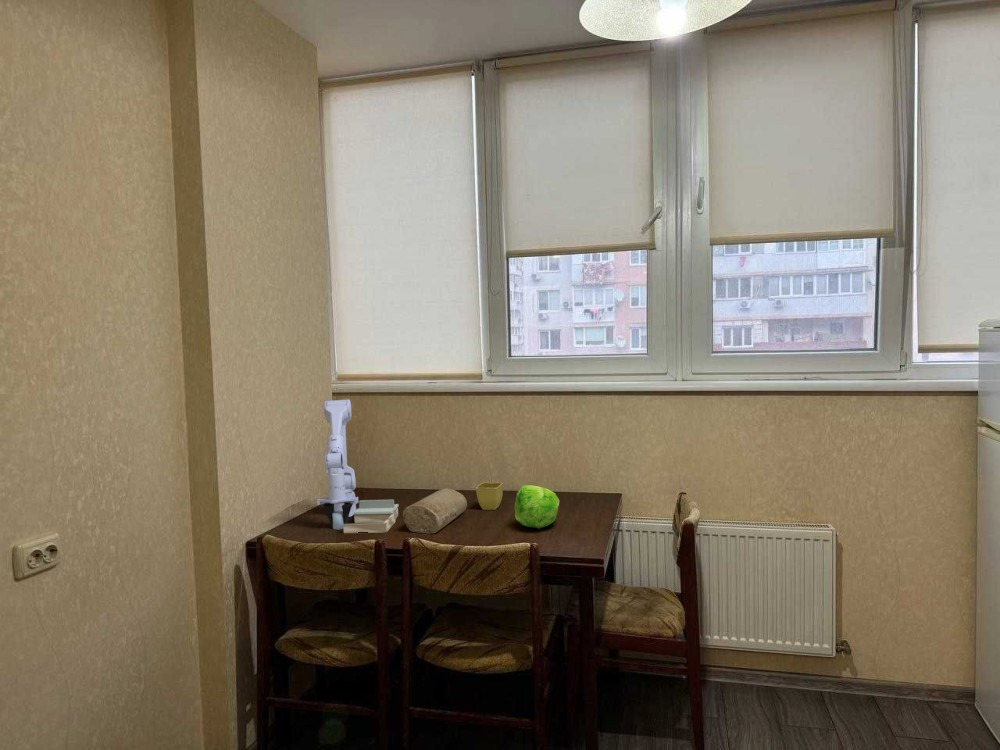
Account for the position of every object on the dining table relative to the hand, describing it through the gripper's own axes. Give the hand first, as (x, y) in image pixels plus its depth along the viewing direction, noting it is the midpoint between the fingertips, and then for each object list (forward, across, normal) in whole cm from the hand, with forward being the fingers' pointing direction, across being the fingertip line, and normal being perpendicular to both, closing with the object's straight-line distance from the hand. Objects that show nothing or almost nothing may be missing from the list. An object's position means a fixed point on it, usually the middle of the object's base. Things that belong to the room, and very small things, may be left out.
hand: (339, 523), depth 235 cm
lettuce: (+2, +71, -3) cm, 71 cm away
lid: (-2, +11, +10) cm, 15 cm away
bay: (+1, +11, +3) cm, 12 cm away
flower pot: (+2, +52, +21) cm, 56 cm away
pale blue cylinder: (+1, 0, 0) cm, 1 cm away
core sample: (+2, +34, +3) cm, 35 cm away
